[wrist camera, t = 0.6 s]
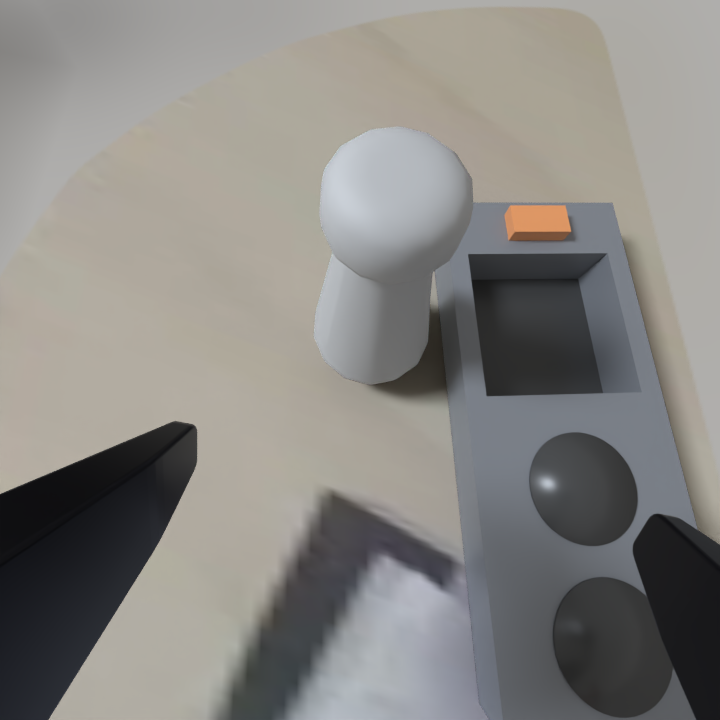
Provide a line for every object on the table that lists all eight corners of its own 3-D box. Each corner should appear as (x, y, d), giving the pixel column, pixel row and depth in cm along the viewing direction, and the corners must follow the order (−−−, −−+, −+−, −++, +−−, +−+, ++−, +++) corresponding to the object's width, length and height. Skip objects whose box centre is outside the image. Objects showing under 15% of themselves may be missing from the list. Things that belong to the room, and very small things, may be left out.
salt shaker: (429, 311, 24) (529, 116, 11) (407, 406, 22) (497, 300, 9) (332, 286, 24) (324, 66, 11) (302, 377, 22) (256, 237, 10)
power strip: (729, 881, 17) (838, 992, 13) (500, 905, 16) (546, 1027, 12) (581, 234, 26) (621, 192, 22) (431, 235, 25) (446, 192, 21)
